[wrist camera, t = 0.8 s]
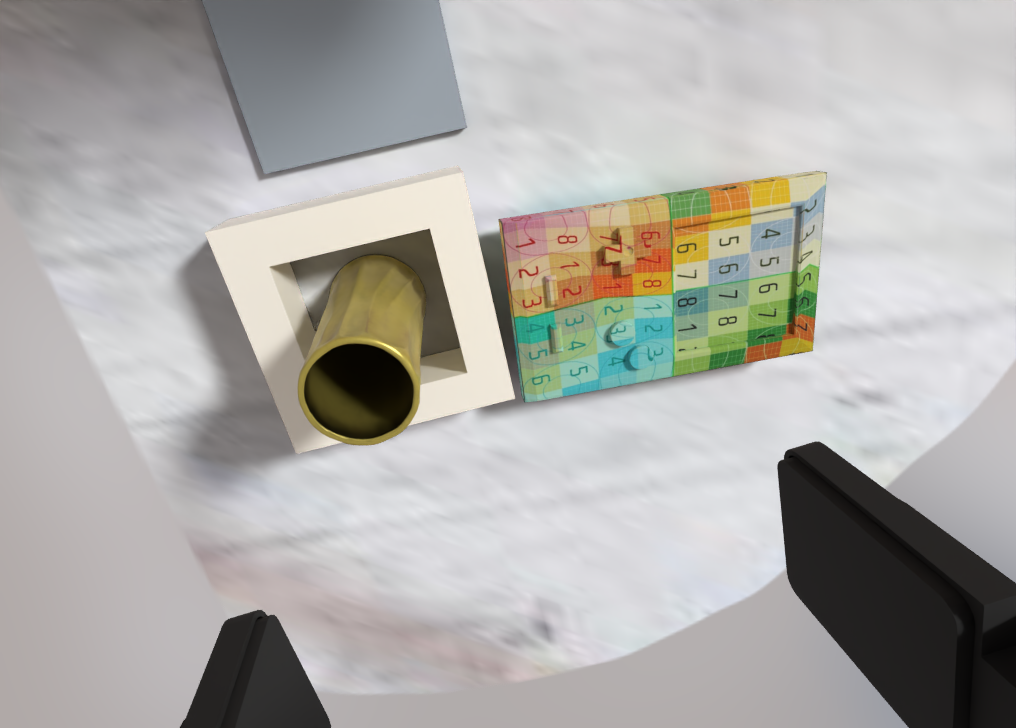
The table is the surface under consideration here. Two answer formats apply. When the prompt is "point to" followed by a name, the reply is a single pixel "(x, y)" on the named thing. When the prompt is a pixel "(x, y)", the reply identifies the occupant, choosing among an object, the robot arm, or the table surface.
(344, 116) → the mat
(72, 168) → the table surface
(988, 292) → the table surface
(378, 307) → the vase
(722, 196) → the puzzle game
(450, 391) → the well board
